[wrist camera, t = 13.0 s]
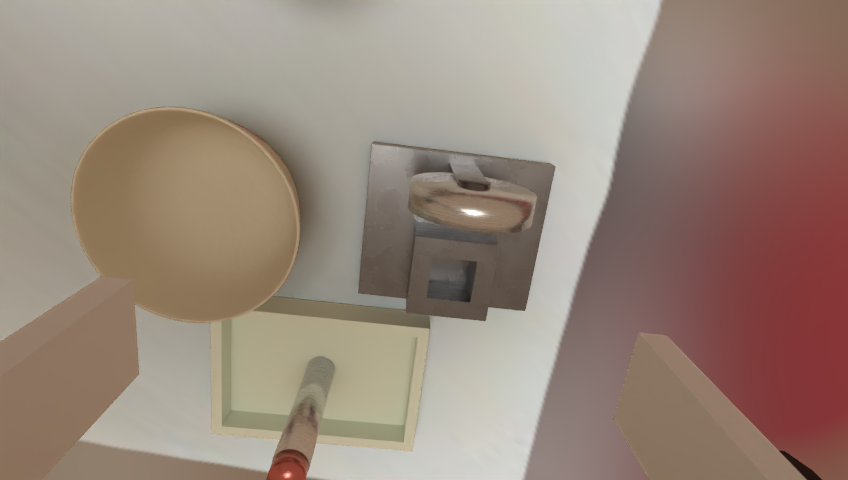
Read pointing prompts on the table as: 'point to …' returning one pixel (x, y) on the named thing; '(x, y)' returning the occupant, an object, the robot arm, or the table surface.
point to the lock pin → (303, 422)
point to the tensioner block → (452, 229)
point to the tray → (352, 382)
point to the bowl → (187, 213)
